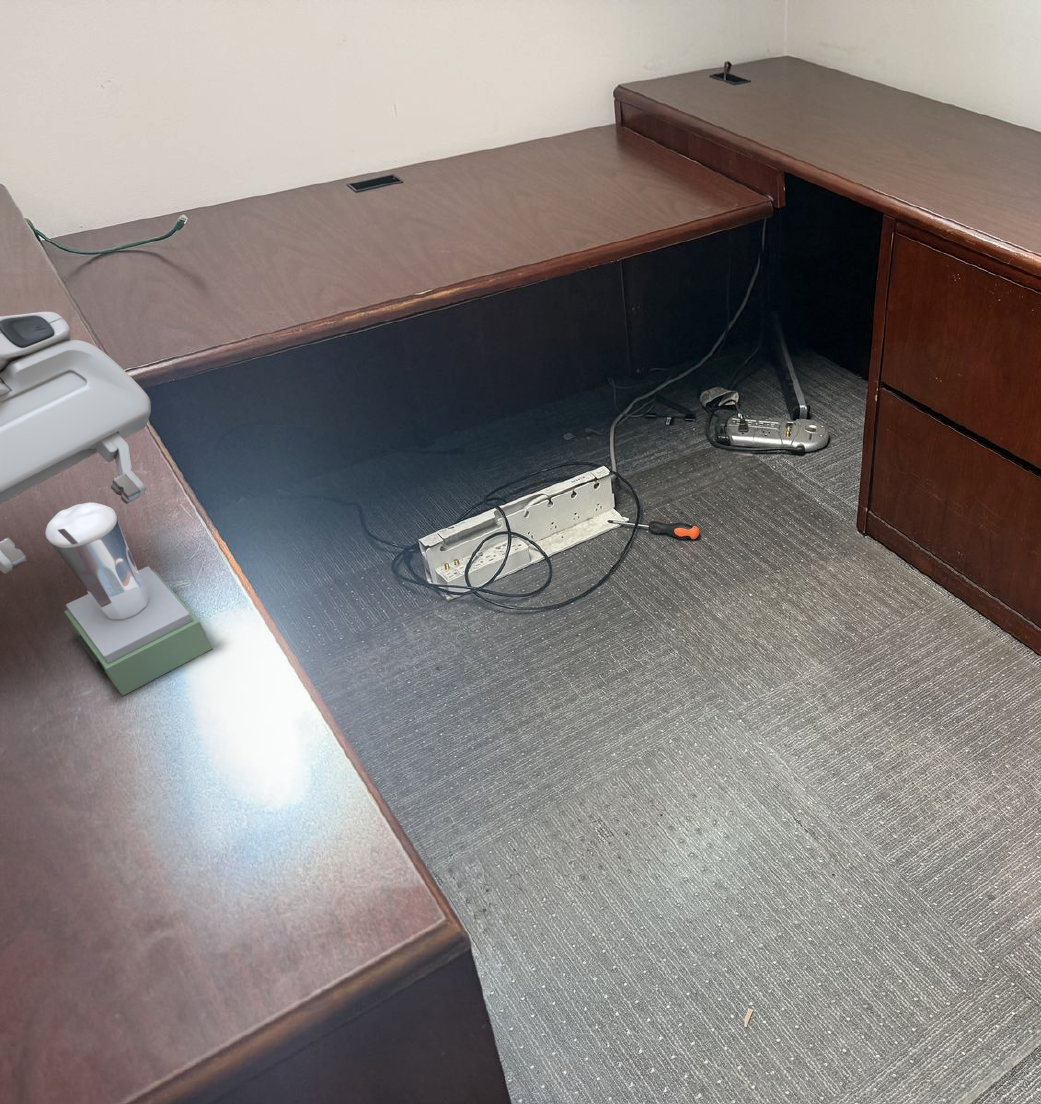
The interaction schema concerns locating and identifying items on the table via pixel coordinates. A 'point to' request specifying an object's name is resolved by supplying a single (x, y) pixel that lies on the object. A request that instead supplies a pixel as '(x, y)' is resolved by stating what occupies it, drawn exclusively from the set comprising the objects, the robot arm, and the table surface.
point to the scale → (140, 635)
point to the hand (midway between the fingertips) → (79, 530)
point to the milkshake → (99, 558)
